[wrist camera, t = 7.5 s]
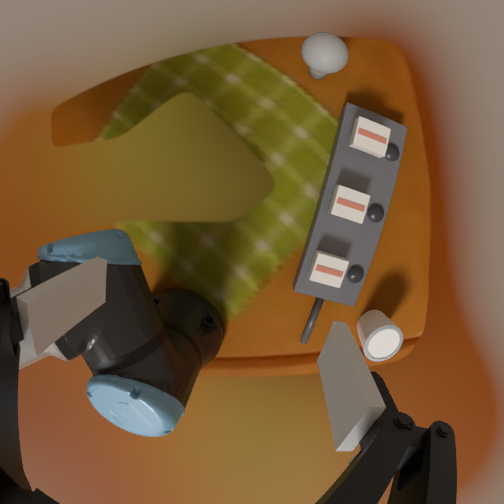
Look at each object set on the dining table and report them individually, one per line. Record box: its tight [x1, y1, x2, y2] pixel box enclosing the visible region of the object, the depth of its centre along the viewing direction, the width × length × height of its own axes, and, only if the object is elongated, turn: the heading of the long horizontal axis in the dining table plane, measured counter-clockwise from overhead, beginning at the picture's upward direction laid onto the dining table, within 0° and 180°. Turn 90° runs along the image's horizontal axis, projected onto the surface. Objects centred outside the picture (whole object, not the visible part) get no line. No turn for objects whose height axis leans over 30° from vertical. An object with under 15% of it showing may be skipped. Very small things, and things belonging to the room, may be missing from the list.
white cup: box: [357, 310, 403, 361], centre depth 40 cm, size 7×7×7 cm
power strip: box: [293, 103, 407, 344], centre depth 39 cm, size 10×39×3 cm, turn 165°
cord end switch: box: [308, 250, 349, 288], centre depth 37 cm, size 5×4×2 cm
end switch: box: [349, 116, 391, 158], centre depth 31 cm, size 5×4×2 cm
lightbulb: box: [302, 32, 348, 79], centre depth 29 cm, size 6×6×11 cm
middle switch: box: [328, 185, 370, 224], centre depth 35 cm, size 5×4×2 cm
